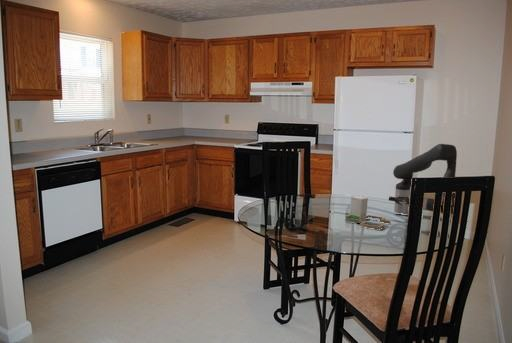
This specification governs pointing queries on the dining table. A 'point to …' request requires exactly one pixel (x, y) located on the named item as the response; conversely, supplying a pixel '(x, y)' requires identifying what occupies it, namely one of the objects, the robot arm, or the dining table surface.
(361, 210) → the skincare box
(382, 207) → the dining table surface
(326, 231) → the dining table surface
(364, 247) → the dining table surface
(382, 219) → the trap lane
